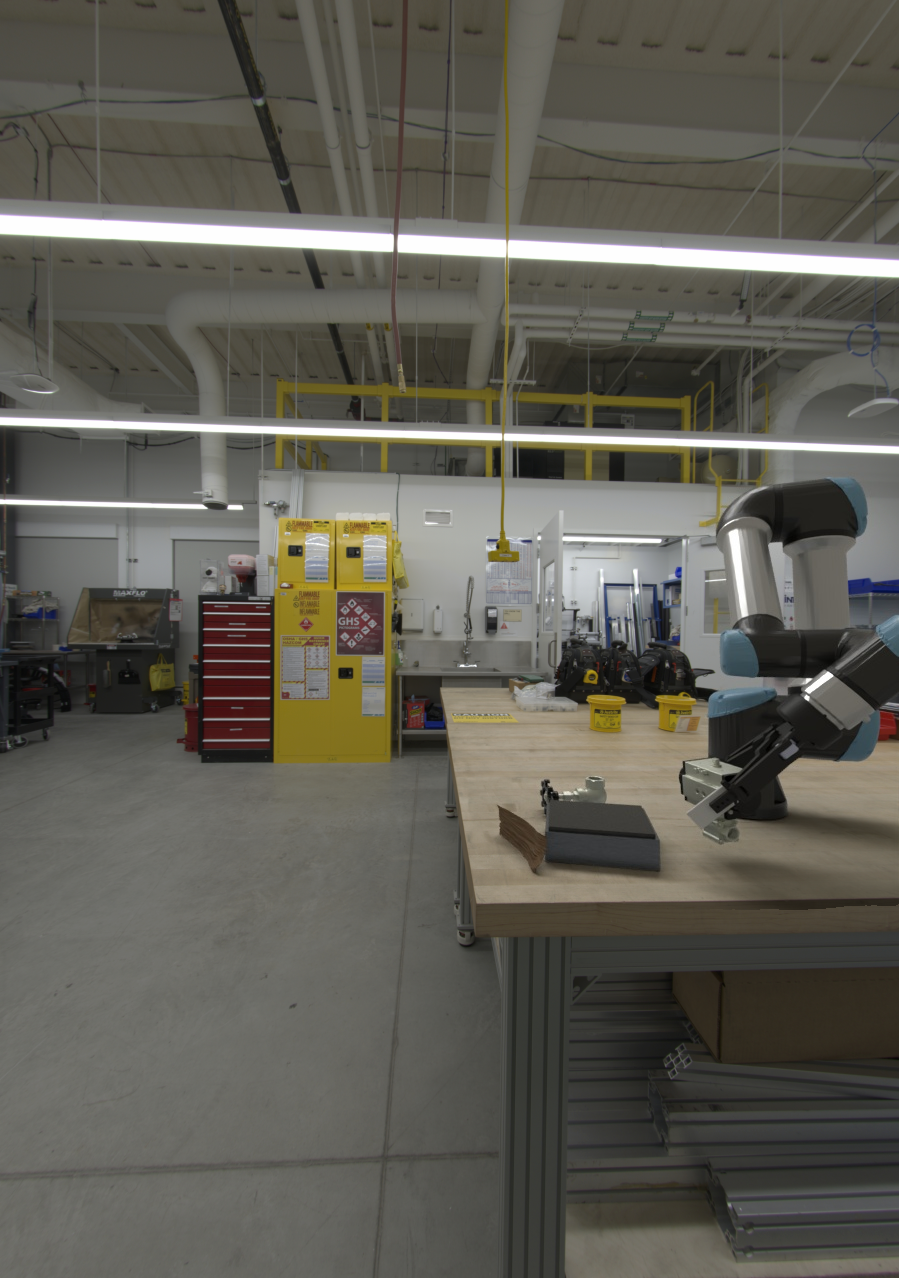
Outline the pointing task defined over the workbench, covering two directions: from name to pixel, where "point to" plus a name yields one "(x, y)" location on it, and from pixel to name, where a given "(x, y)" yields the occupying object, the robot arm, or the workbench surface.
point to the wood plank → (523, 837)
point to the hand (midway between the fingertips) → (694, 808)
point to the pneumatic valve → (705, 779)
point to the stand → (601, 835)
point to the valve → (576, 792)
